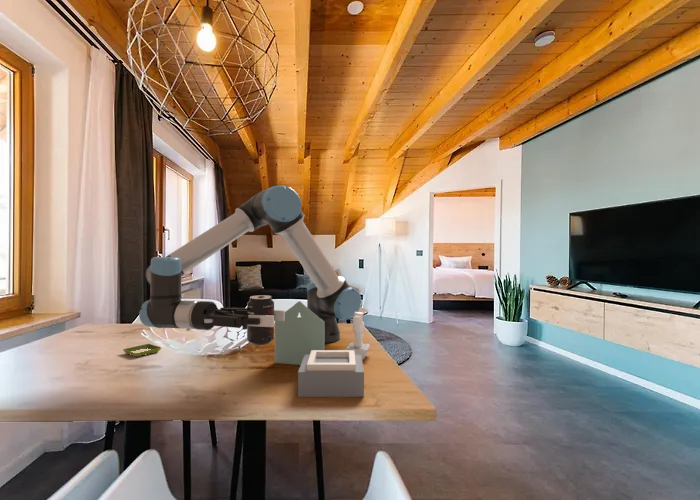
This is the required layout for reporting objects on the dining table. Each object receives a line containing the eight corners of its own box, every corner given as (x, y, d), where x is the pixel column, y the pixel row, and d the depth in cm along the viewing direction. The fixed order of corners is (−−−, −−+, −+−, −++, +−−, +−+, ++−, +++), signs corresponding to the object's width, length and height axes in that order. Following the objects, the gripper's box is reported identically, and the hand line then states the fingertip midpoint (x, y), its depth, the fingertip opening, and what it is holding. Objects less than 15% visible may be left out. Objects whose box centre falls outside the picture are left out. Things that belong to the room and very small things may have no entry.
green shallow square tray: (162, 353, 117) (162, 347, 117) (135, 359, 110) (135, 353, 110) (148, 349, 122) (148, 343, 122) (122, 355, 114) (122, 349, 114)
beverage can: (275, 339, 92) (276, 295, 92) (271, 346, 85) (271, 298, 85) (250, 339, 91) (250, 295, 91) (243, 346, 85) (244, 298, 85)
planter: (330, 358, 111) (331, 298, 111) (324, 367, 103) (324, 302, 103) (284, 355, 114) (284, 297, 114) (274, 363, 106) (274, 300, 107)
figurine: (371, 353, 117) (371, 310, 117) (366, 362, 108) (367, 315, 108) (351, 352, 118) (351, 309, 118) (344, 360, 109) (345, 314, 109)
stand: (304, 375, 96) (304, 349, 96) (361, 375, 96) (361, 349, 96) (297, 396, 82) (298, 365, 82) (363, 396, 82) (364, 365, 82)
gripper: (218, 321, 101) (291, 324, 97) (173, 338, 81) (263, 343, 78) (218, 296, 101) (291, 298, 97) (173, 307, 81) (263, 310, 78)
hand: (278, 318), depth 87 cm, fingers closed on beverage can, 7 cm apart
